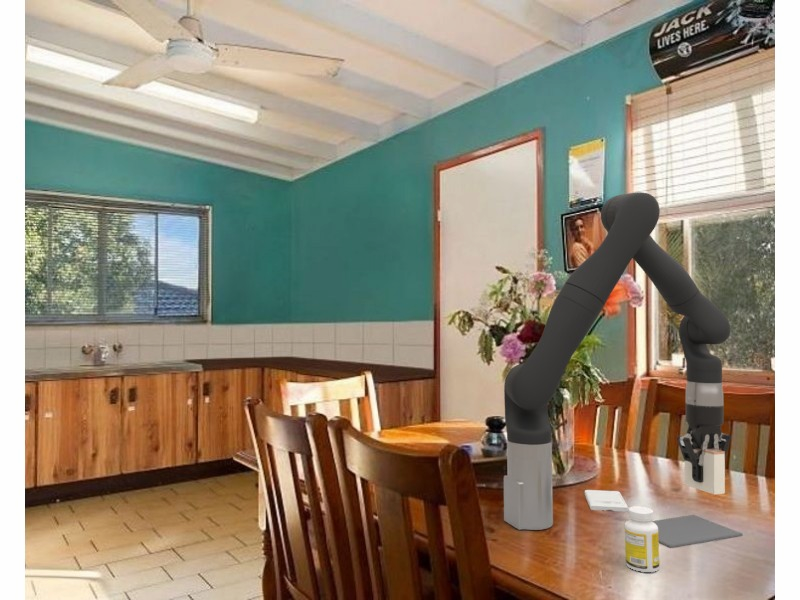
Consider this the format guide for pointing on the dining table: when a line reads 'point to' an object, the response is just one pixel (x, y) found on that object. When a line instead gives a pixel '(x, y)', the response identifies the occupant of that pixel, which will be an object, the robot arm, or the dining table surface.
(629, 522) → the supplement bottle
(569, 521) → the dining table surface
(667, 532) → the mat
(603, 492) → the external hard drive
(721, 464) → the slab
